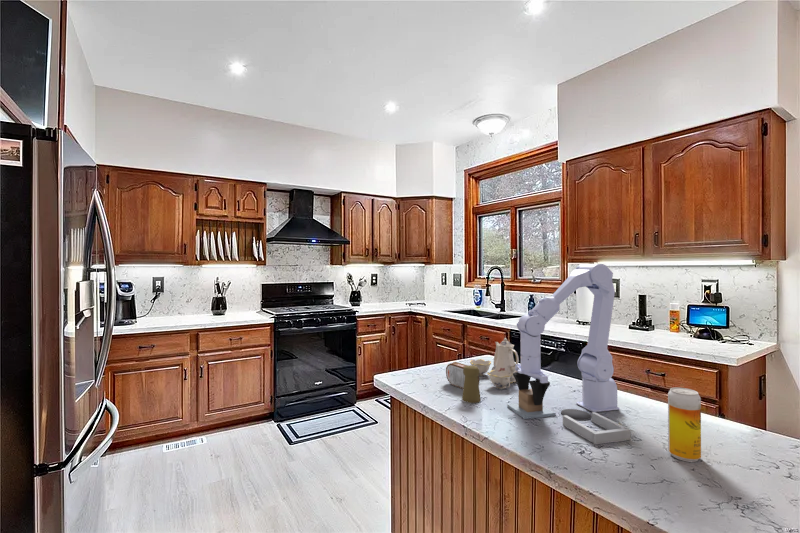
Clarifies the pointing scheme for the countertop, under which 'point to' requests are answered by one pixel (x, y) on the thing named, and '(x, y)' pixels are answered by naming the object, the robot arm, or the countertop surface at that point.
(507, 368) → the chinaware
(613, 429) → the grey flat u-shaped piece
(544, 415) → the board
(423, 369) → the countertop surface
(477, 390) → the olive waisted block
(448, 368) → the tin
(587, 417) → the hole mat
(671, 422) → the beer can
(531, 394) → the walnut cube
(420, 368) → the countertop surface
